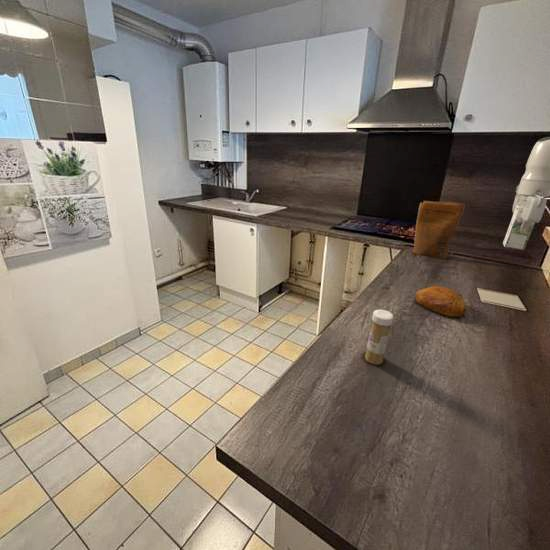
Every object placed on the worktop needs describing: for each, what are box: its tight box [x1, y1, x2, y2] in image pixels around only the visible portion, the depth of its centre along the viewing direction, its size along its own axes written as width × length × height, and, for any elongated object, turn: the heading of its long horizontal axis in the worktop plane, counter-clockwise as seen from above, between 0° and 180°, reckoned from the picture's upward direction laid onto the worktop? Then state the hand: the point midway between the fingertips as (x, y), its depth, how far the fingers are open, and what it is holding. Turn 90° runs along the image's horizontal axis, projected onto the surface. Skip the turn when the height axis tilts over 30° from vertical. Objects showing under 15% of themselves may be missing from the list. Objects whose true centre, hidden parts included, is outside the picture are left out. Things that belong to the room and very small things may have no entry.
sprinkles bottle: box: [364, 309, 394, 366], centre depth 71 cm, size 5×5×14 cm
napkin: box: [476, 287, 527, 312], centre depth 107 cm, size 13×13×1 cm
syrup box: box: [502, 205, 536, 251], centre depth 101 cm, size 6×6×14 cm
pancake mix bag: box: [411, 200, 466, 260], centre depth 145 cm, size 7×19×28 cm, turn 59°
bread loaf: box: [415, 285, 467, 318], centre depth 99 cm, size 14×16×8 cm
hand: (519, 230), depth 102 cm, fingers closed on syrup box, 6 cm apart
